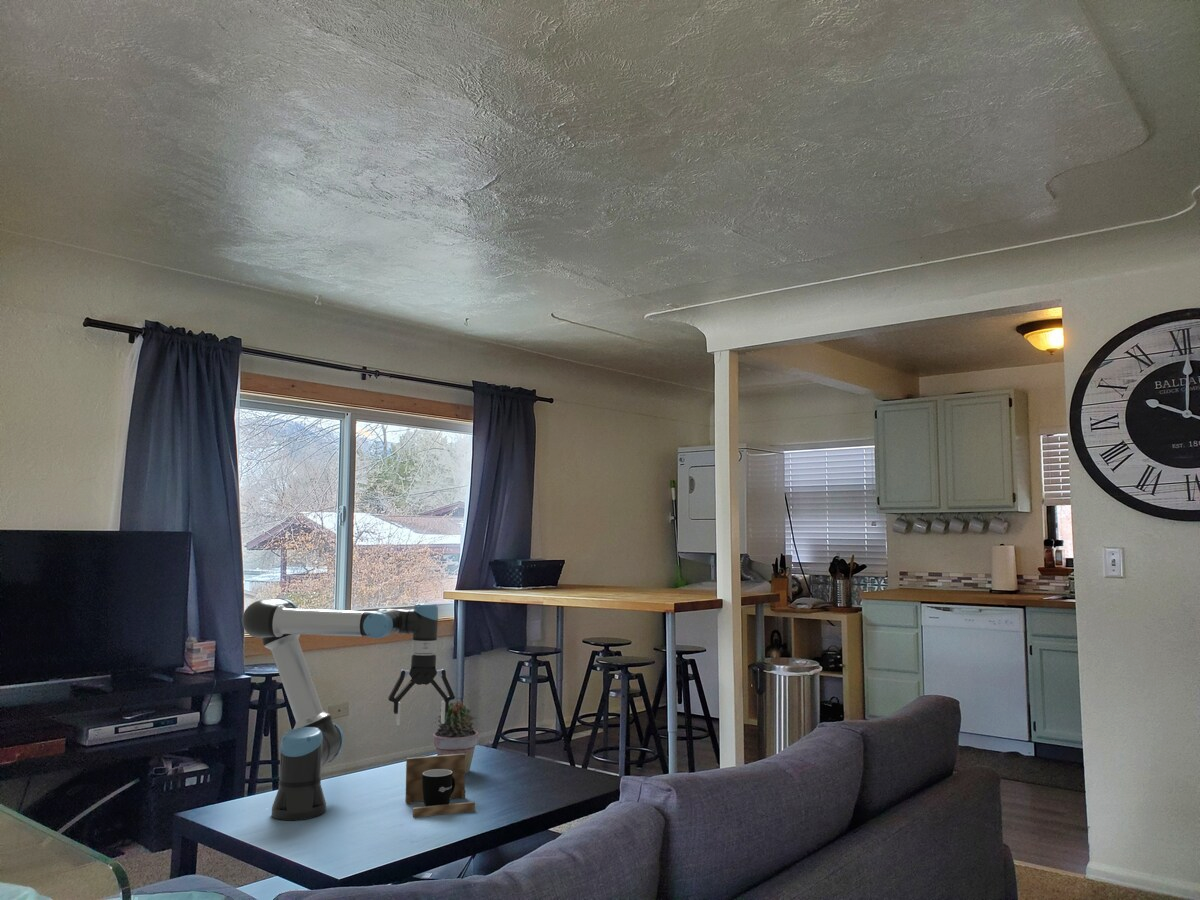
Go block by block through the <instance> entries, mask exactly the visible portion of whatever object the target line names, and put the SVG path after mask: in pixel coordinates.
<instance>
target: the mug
mask: <svg viewBox="0 0 1200 900" xmlns="http://www.w3.org/2000/svg"><path fill="white" fill-rule="evenodd" d="M422 786H423V798H424V801H423V803H424V807H425V806H435V805H445V804H450V802H451V801H450V800H451V799H450V797H451V794H452V793H453V791H454V788H455V780H454V777H453V774H452V771H451V770H447V769H433V770H428V771H425V772H423V774H422Z"/></svg>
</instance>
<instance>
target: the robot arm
mask: <svg viewBox="0 0 1200 900" xmlns="http://www.w3.org/2000/svg"><path fill="white" fill-rule="evenodd" d="M241 617H242V618H241V623H242V627H243V629H244V631H245V632H246V633H247V634H248V635H249V636H251V637H253V638H254V639H261V641H262V644H263V647H264V648H266V649H268V650H270V652H271V655H272V657H273V659H274V662H275V666H276V669H277V671H278V674H279V677H280V680H281V682H282V686H283V688H284V691H285V695H286V696H287V700H288V704H289V705H290V708H291V711H292V715H293V717H294V720H295V724H294V727H293V728H292V729H290V730H288V731H286V732H285V733H283V735H282V736H281V739H280V746H279V752H280V753H279V754H280V755H279V778H278V779H279V780H278V782H279V783H278V790H277V792H276V795H275V798H274V800H273V803H272V807H271V817H272V818H274V819H276V820H280V819H281V820H282V821H297V820H298V821H299V820H306V819H312V818H316V817H319V816H321V815H323V814H324V813H326V811H327V801H326V798H325V794H324V790H323V788H322V783H321V782H322V781H321V777H322V766H324V765H326V764H328V763H331V762H332V761H334V760H335V759H336V757H338V755H339V754H340V753H341V751H342V750H343V746H344V744H345V743H344V740H345V739H344V733H343V730H342V729H341V727H340V726H339V725H337V724H336V723H334V721H333V719H332V716H331V714H330V713H328V712H326V711H324V708H323V706H322V703H321V700H320V698H319V695H318V692H317V688H316V686H315V683H314V680H313V678H312V675H311V672H310V669H309V666H308V663H307V661H306V658H305V655H304V652H303V650H302V646H301V644H300V641H299V639H300V637H301V635H306V636H307V635H308V636H310V635H311V636H312V635H313V636H335V637H338V636H342V637H366V638H372V639H383V638H385V637H388V636H392V635H395V634H396V635H397V634H401V635H403V634H404V635H406V634H407V635H412V645H411V653H413V654H412V655H411V661H410V663H411V664H410V669H409V670H405V669H403V668H402V669H400V672H399V677H398V679H397V681H396V682H395V685H394V686H393V688H392V689H391V692H390V694H388V697H387V699H388V701H389V702H392V703H393V713H394V714H396V723H395V724H396V726H400V725H401V711H402V709H401V708H402V702H400V701H401V700H402V699H403V697H405V695H407V693H408V692H409V691H410V689H412V687H414V685H418V686H420V685H425V686H426V685H429V684H431V685H432V686H433V687H434V688H435V690H436V691H437V693H439V695H440V696H441V698H442V699H443V700H441V704H440V705H441V708H440V715H441V723H442V724H444V722H445V712H448V708H449V704H450V701H453V700H455V698H456V696H455V693H454V692H453V689H452V688H451V685H450V683H449V680H448V678H447V674H446V673H447V672H446V670H445V669H444V668H441V669H436V666H437V665H436V664H437V655H436V653H437V646H438V645H437V641H438V639H437V638H438V626H439V624H438V622H439V608H438V606H437V604H436V603H426V602H425V603H416V604H414V607H413V609H400V608H399V609H398V608H397V609H396V608H380V609H378V610H377V611H373V610H371V611H365V610H339V609H338V610H337V609H335V610H334V609H310V608H299V607H298V606H297V604H296V603H295V602H293V601H292V600H289V599H287V598H281V597H279V598H278V597H275V598H272V599H271V598H269V599H262V600H261V599H260V600H257V601H254V602H253V603H251V604H248V606H247V607H246V609H245V610H244V611H243V614H242V616H241ZM437 675H438V677H440V678H441V679H442V680H441V681H442V682H443V684H444V686H445V689H446V691H447V693H448V696H447V694H446V693H445V692H444V691H443V690H442V688H441V687H440V686H439V685H438V683H437V682H436V680H434V678H435V677H436V676H437ZM408 676H410V678H411V679H410V680H409V681H408V683H407V684H406V685H404V687H403V688H402V689H401V691H400V692H399V693H398V691H399V689H400V688H401V685H402V684H403V682H404V679H405V678H407V677H408ZM397 693H398V694H397Z"/></svg>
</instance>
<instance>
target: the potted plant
mask: <svg viewBox="0 0 1200 900" xmlns="http://www.w3.org/2000/svg"><path fill="white" fill-rule="evenodd" d="M476 718H477V719H478V720H479V719H480V718H478V717H476V716H475V717H474V716H473V715H472V713H471V709H470V708H469V709H468V707H466V705H464V704H463V702H462V701H458V700H457V702H452V701H451V702H449V708H448V712H445V722H444V724H442V723H441V714H440V715H438V717H436V718H435V719H437V720H438V721H435V722H433V723H431V725H432V724H436V723H439V724H438V725H437V728H438V729H436V731H435V732H433V734H432V740H433V747H434V748H435V751H436V756H438V755H450V754H463V753H464V754H465V775H467V774H469V773H470V770H471V766H472V762H473V758H474V754H475V753H474V752H475V748H476V747H477V745H478V737H479V732H478V731H477V730H475V729H474V726H475V725H476V724H474V722H472V721H473V720H476ZM435 719H434V720H435ZM473 725H474V726H473Z"/></svg>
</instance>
